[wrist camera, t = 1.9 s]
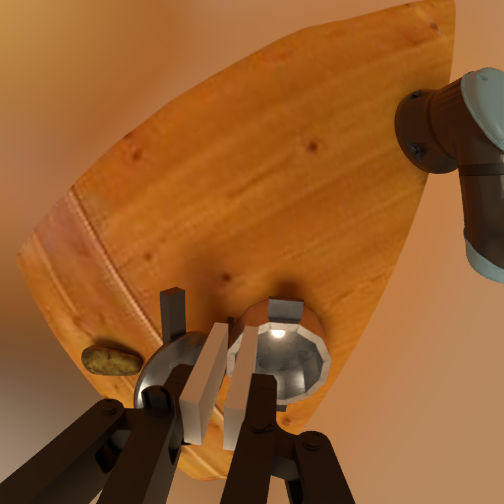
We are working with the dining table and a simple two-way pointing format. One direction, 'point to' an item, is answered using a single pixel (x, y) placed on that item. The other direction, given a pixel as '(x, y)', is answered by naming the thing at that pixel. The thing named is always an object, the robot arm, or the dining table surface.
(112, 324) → the dining table surface
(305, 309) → the pot
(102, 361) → the potato
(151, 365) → the lid
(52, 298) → the dining table surface
